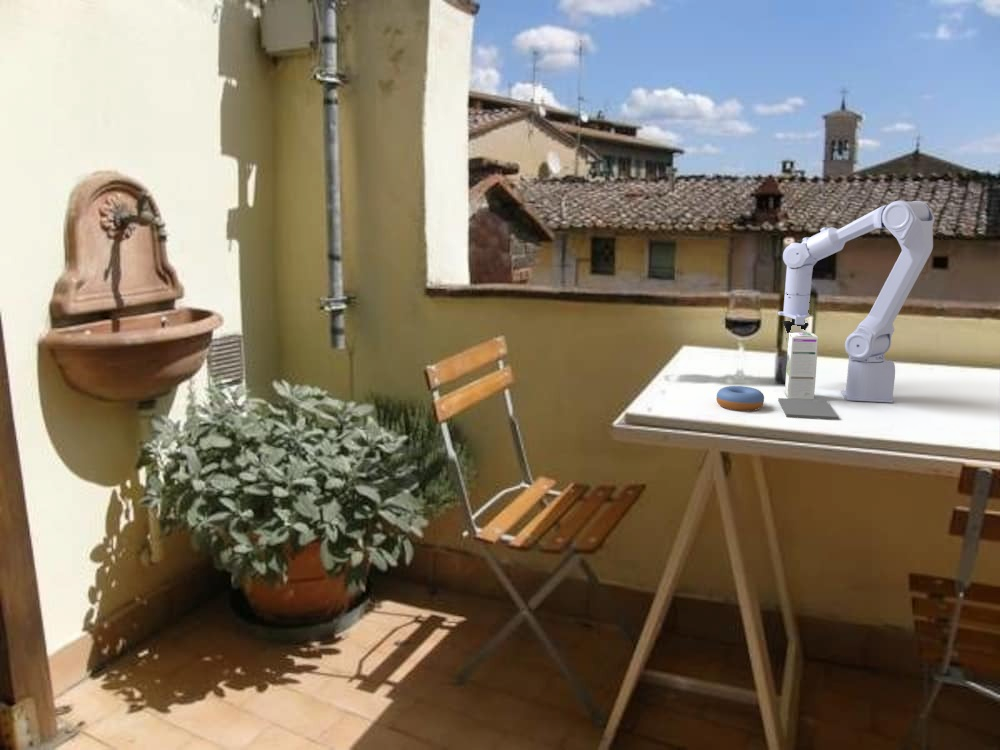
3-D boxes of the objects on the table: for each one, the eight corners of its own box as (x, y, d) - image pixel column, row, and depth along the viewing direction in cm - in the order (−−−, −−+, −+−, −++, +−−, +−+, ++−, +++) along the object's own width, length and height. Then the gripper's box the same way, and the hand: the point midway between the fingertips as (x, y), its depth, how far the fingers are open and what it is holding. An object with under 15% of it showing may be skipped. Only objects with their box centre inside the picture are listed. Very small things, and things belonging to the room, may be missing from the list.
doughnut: (754, 399, 176) (754, 379, 175) (771, 413, 166) (771, 392, 165) (710, 403, 176) (710, 384, 175) (724, 417, 166) (724, 397, 165)
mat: (825, 403, 173) (826, 400, 173) (838, 419, 160) (838, 417, 160) (778, 400, 175) (778, 398, 175) (786, 416, 162) (786, 414, 162)
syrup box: (814, 400, 176) (820, 336, 173) (786, 399, 177) (792, 335, 174) (810, 394, 181) (815, 332, 178) (783, 393, 183) (788, 331, 179)
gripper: (776, 290, 195) (771, 344, 198) (783, 297, 181) (779, 355, 184) (806, 291, 193) (801, 345, 196) (816, 297, 179) (811, 356, 182)
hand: (792, 350), depth 190 cm, fingers closed
